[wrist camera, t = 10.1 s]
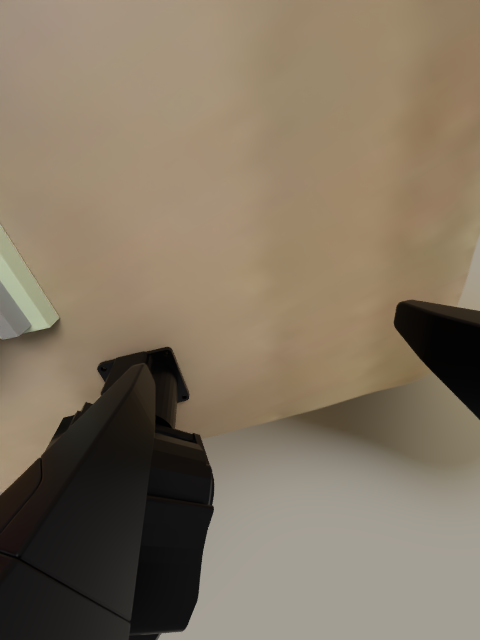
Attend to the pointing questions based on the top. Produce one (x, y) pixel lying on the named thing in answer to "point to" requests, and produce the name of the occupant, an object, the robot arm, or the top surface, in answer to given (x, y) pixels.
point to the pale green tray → (20, 295)
